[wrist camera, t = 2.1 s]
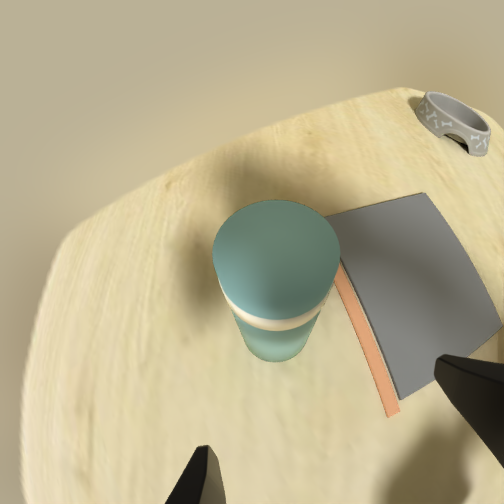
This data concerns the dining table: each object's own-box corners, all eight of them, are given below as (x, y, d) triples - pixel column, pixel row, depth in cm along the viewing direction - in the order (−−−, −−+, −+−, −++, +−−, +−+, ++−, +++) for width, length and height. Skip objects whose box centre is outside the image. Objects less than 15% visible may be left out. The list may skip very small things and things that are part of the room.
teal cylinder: (287, 374, 21) (304, 335, 10) (230, 341, 22) (185, 268, 12) (319, 318, 23) (358, 228, 12) (264, 290, 25) (255, 185, 14)
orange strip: (398, 411, 17) (400, 411, 17) (387, 417, 17) (388, 417, 17) (313, 214, 29) (313, 212, 29) (303, 216, 29) (303, 214, 29)
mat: (399, 400, 18) (401, 399, 18) (320, 220, 29) (320, 218, 28) (500, 327, 19) (502, 326, 19) (424, 194, 30) (425, 192, 30)
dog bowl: (416, 100, 47) (421, 81, 42) (481, 133, 41) (488, 115, 36) (412, 127, 40) (418, 103, 35) (491, 169, 33) (502, 149, 29)
